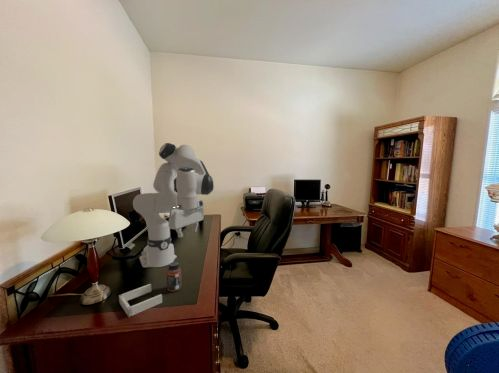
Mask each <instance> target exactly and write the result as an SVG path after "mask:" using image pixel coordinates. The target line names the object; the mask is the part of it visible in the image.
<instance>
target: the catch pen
mask: <svg viewBox="0 0 499 373" xmlns="http://www.w3.org/2000/svg"><path fill="white" fill-rule="evenodd" d="M151 292H152V284H151V283H149V284H146V285H143V286H141V287H137V288H135V289H132V290H129V291H127V292H124V293H122V294H119V295H118V303H119V305H120V306H121V308H122V310H123V311H124V312H125V314H126V315H127V317H128V318H130V317H132V316H134V315H137V314H139V313H141V312H142V313H143V311H146V310H149V309H151V308H153V307H155V306H157V305H160V304H162V303H163V294H161V293H160V294H157V295H155V296H154V297H151V298H148V299H145V300H143V301H141V302H139V303H136V304H133V305H130V304H129V302H128V301H130V300H133V299H136V298H139V297H140V296H141V297H142V296H144V295H146V294H148V293H151Z"/></svg>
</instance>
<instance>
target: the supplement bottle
mask: <svg viewBox="0 0 499 373" xmlns="http://www.w3.org/2000/svg"><path fill="white" fill-rule="evenodd" d="M179 265H180V263H179V262H178V261H173V262H172V263H170V264H169V265H168V268H167V269H166V287H167V291H168V292H171V293H172V292H173V293H174V292H178V291H180V290H181V289H182V268H181V267H180V266H179Z"/></svg>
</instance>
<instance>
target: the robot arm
mask: <svg viewBox="0 0 499 373" xmlns="http://www.w3.org/2000/svg"><path fill="white" fill-rule="evenodd" d="M158 156H159V157H160V158H161V159H162V160H164V161H166V162H165V163H164V162H163V163H162V164H161V165H160V166H159V168H158V170H157V172H156V175H155V177H154V181H153V184H152V185H153V189H154V190H155V192H148V193H147V192H145V193H140V194H137V195H135V196H134V198H133V200H132V206H133V209H134V210H135V212H136V213H138V214H140V215H141V216H142V218H143V219H144V221H145V223H146V227H147V232H148V233H147V234H148V237H147V245H146V246H145V247H144V248H143V250H142V251H141V252H140V253H141V255H139V258H138V259H139V261H140V264H141V266H142V268H162V267H165V266H169V264H170V263H172V262H175V259H176V258H177V255H176V254H175V248H174V244H173V243H172V237H171V230H175V232H176V233H177V237H178V238H183V237H184V232H182V228H184V227H187V226H190V225H192V227H191V232H193V233H196V232H197V231H198V226H199V222H201V221H203V220H204V218H205V209H204V204H205V203H204V202H205V201H203V200H200V199H198V195H205V196H209V195H210V194H211V193H212V192H213V191H214V187H215V186H214V180H213V177H212V176H211V175H210V174H209V172H208V170H207V168H206V166H205V164H204V162H203V161H202V160H200V159H199V158H197V156H196V154H195V151H194V150H193V148H192V147H191V145H189V144H181V145H180V146H178V147H177V146H176V145H175V144H172V143H170V142H166V143H164V144H163V145H161V147H160V148H159V151H158ZM160 214H168V220H167V219H165V218H163V217H162V216H161V215H160Z"/></svg>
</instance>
